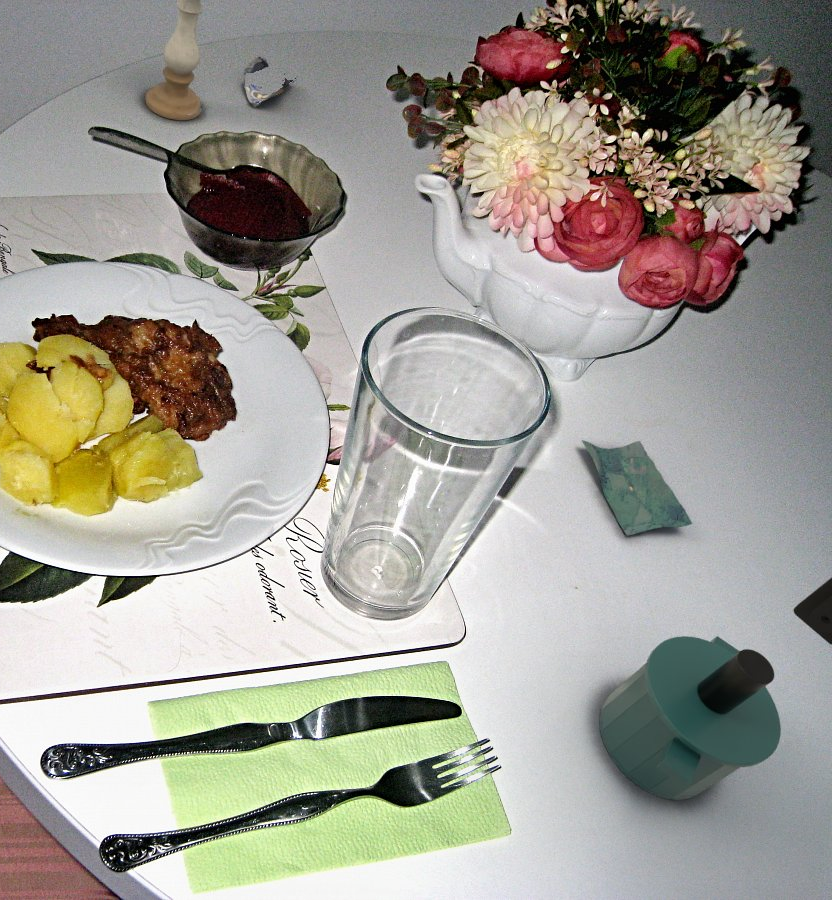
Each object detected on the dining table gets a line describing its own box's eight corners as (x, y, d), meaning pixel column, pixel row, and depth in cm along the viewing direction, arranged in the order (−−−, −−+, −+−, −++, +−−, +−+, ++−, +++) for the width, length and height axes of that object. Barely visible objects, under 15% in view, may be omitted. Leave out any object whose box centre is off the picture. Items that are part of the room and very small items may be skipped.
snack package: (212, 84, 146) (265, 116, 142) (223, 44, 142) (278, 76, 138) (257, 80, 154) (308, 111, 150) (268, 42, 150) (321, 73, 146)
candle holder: (178, 87, 142) (201, -48, 128) (212, 115, 139) (240, -20, 124) (133, 96, 138) (152, -43, 123) (167, 125, 134) (190, -14, 119)
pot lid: (785, 701, 77) (839, 664, 72) (752, 800, 70) (810, 767, 65) (664, 619, 80) (709, 578, 75) (622, 705, 73) (668, 667, 68)
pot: (730, 719, 84) (789, 677, 78) (680, 850, 75) (744, 814, 68) (631, 649, 87) (681, 604, 81) (571, 766, 78) (622, 725, 71)
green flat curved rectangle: (685, 534, 99) (694, 524, 98) (623, 538, 97) (632, 527, 96) (632, 447, 107) (640, 436, 106) (575, 449, 105) (582, 438, 104)
